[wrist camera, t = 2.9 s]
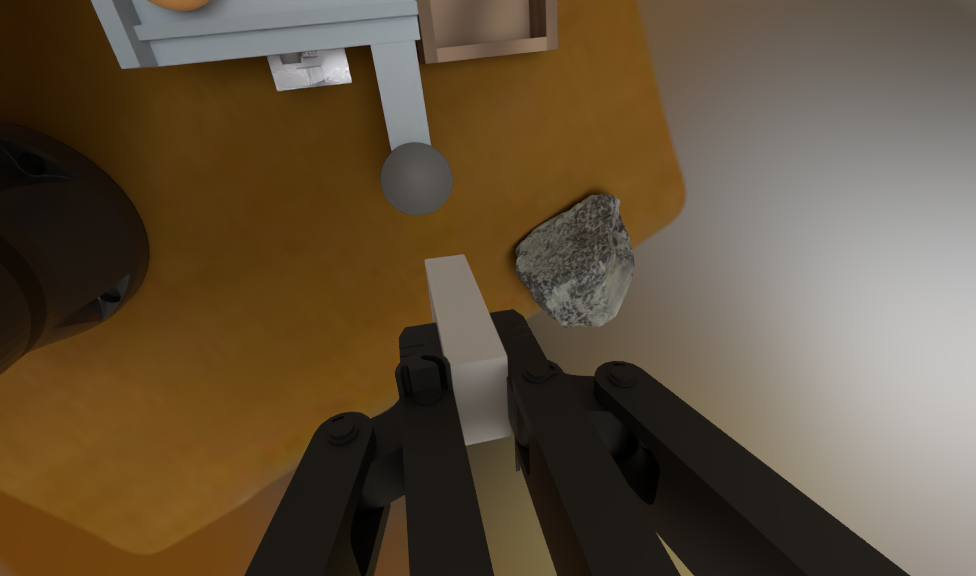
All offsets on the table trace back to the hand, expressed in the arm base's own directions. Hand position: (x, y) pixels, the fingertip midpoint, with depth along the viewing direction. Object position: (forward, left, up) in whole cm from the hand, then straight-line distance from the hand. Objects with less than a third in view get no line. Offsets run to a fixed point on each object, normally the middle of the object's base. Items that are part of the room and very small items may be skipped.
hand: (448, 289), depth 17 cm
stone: (+13, -9, -21) cm, 26 cm away
